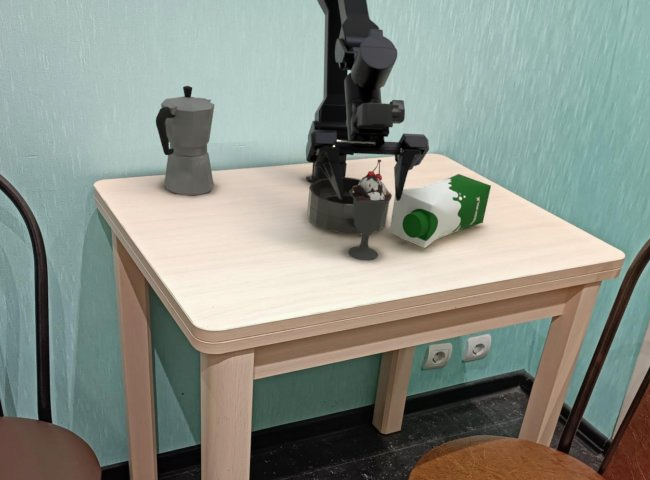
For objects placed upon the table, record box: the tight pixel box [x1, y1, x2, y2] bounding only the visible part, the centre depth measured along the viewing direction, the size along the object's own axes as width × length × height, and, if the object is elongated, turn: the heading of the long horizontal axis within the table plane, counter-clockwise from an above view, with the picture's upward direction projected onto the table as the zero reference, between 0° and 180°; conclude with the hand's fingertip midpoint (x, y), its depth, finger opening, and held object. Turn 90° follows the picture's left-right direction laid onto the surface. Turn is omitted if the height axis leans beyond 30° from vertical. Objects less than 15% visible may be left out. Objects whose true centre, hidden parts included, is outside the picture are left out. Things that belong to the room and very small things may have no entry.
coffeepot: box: [155, 85, 215, 196], centre depth 136 cm, size 15×9×18 cm, turn 153°
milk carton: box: [389, 173, 492, 249], centre depth 131 cm, size 9×9×20 cm
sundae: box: [347, 159, 393, 261], centre depth 119 cm, size 7×7×15 cm
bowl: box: [306, 176, 391, 235], centre depth 133 cm, size 14×14×6 cm
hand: (370, 199), depth 118 cm, fingers open, 9 cm apart
